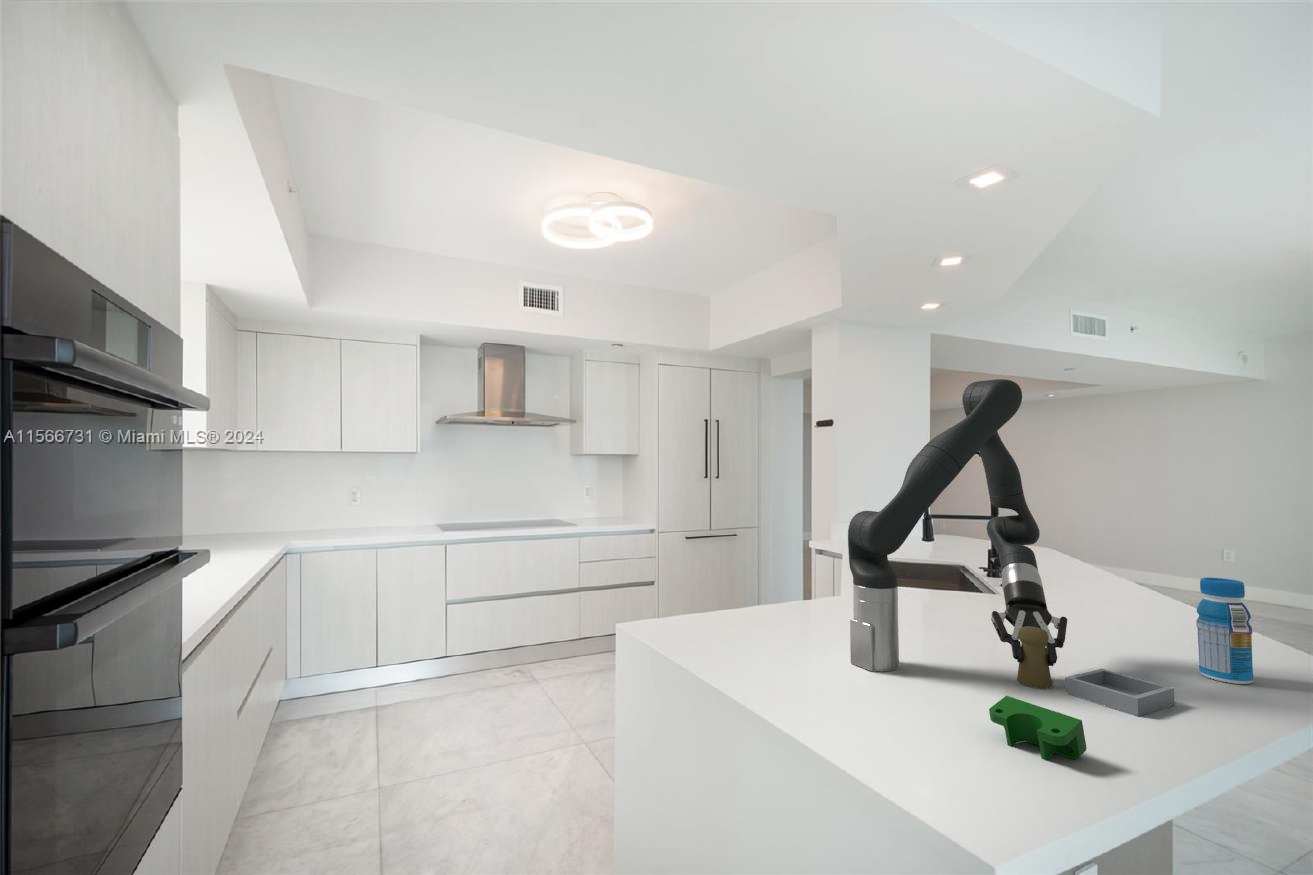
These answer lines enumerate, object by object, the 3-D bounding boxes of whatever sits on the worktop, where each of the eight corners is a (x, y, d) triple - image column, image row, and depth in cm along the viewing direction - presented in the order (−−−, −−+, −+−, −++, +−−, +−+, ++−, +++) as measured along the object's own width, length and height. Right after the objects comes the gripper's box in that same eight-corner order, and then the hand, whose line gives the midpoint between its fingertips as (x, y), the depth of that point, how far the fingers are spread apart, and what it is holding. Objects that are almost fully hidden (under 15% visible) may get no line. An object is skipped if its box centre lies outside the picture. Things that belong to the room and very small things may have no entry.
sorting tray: (1138, 716, 105) (1137, 698, 105) (1065, 693, 116) (1065, 677, 116) (1174, 705, 110) (1173, 688, 110) (1102, 683, 121) (1101, 668, 121)
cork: (1058, 690, 118) (1056, 632, 118) (1023, 687, 119) (1022, 630, 119) (1044, 679, 123) (1043, 624, 124) (1012, 677, 125) (1010, 623, 125)
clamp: (1007, 770, 95) (976, 712, 97) (1027, 752, 98) (997, 696, 100) (1080, 773, 85) (1043, 708, 87) (1100, 752, 88) (1064, 690, 90)
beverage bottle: (1197, 678, 124) (1193, 580, 125) (1198, 668, 131) (1195, 575, 132) (1255, 688, 119) (1250, 585, 120) (1253, 678, 125) (1249, 580, 126)
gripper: (986, 576, 132) (996, 648, 120) (1064, 581, 126) (1082, 656, 115) (984, 596, 136) (993, 667, 125) (1059, 602, 131) (1075, 676, 119)
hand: (1035, 661), depth 120 cm, fingers closed on cork, 4 cm apart
